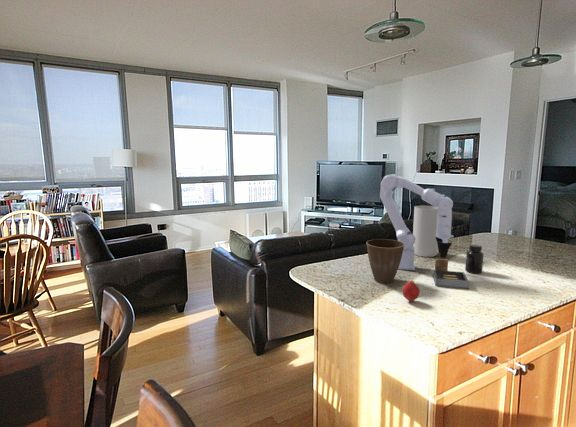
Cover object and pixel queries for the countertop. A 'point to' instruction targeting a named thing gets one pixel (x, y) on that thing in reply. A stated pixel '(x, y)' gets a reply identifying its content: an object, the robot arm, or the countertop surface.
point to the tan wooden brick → (441, 264)
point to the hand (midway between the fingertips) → (442, 255)
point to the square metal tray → (450, 279)
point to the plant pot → (384, 258)
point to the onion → (410, 291)
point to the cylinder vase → (425, 230)
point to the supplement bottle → (474, 259)
